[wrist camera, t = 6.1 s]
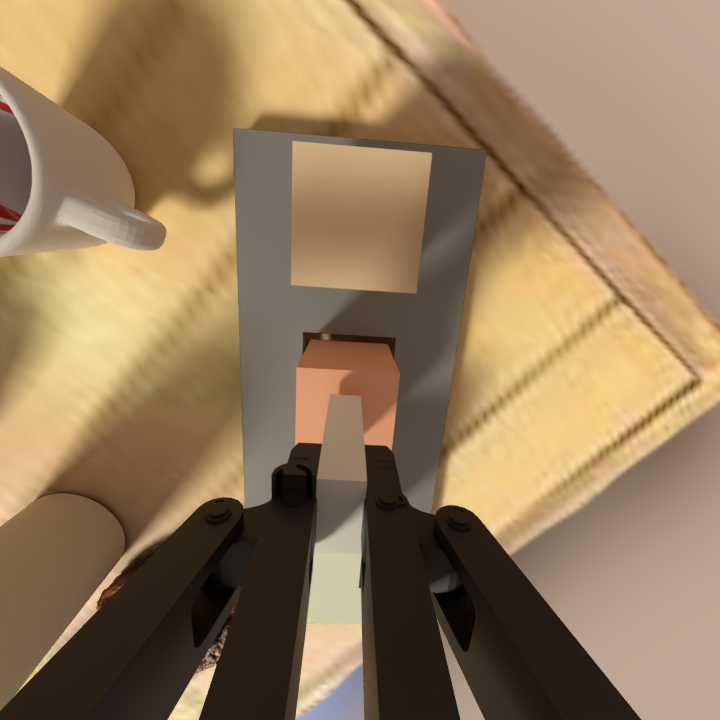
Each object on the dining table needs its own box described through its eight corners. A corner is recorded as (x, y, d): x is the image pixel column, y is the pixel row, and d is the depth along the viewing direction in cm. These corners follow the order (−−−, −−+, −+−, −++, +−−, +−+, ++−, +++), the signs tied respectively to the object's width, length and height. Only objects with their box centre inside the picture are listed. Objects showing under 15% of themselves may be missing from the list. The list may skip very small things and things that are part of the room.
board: (242, 138, 20) (232, 127, 18) (476, 158, 21) (486, 149, 19) (251, 528, 28) (246, 544, 26) (421, 535, 28) (425, 551, 27)
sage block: (303, 476, 23) (287, 548, 17) (378, 479, 23) (386, 552, 17) (302, 536, 24) (287, 622, 19) (372, 539, 24) (378, 625, 19)
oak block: (311, 179, 18) (292, 141, 12) (406, 186, 18) (432, 152, 12) (309, 277, 19) (290, 285, 13) (397, 283, 19) (416, 293, 14)
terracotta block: (310, 339, 22) (296, 367, 16) (387, 343, 22) (399, 373, 17) (308, 409, 24) (295, 458, 18) (381, 413, 24) (390, 463, 18)
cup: (218, 182, 21) (140, 137, 13) (175, 300, 23) (85, 322, 15) (35, 84, 19) (-179, -34, 11) (6, 220, 21) (-194, 197, 13)
